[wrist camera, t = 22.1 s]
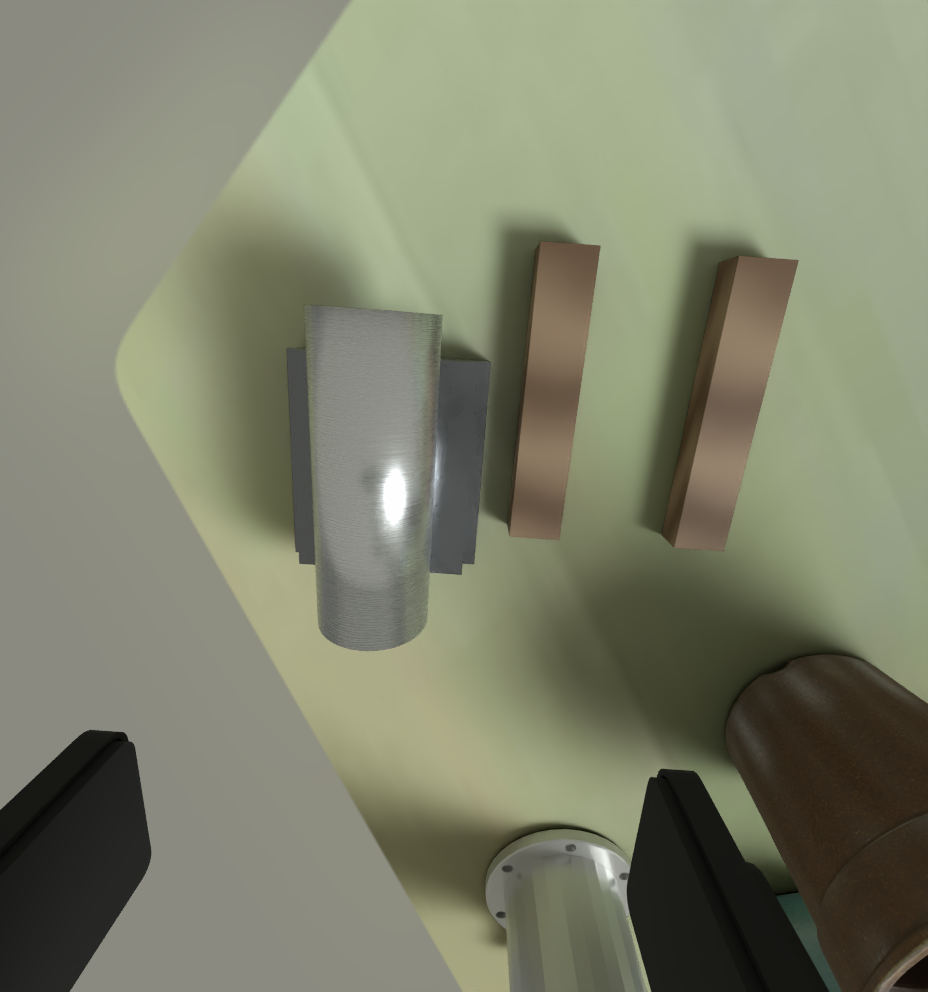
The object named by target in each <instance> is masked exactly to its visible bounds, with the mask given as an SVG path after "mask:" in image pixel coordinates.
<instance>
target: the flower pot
mask: <svg viewBox="0 0 928 992" xmlns="http://www.w3.org/2000/svg"><path fill="white" fill-rule="evenodd" d="M776 897H777V899H778V901H779V903H780V904H781V906H782V908H783V910H784V911H785V913H786V915H787V917H788V919H789V920H790V922H791V924H792V926H793V927H794V929H795V931H796V933H797V935H798V936H799V938H800V940H801V942H802V943H803V945H804V947H805V949H806V951H807V952H808V954H809V956H810V958H811V960H812V961H813V963H814V965H815V967H816V968H817V970H818V972H819V974H820V976H821V977H822V979H823V981H824V983H825V984H826V986H827V988H828V990H829V992H841V990H840V988H839V986H838V983H837V981H836V979H835V977H834V975H833V973H832V971H831V969H830V967H829V965H828V963H827V961H826V959H825V957H824V955H823V952H822V950H821V948H820V945H819V941H818V937H817V927H816V925H815V923H814V921H813V919H812V917H811V915H810V913H809V911H808V909H807V907H806V905H805V903H804V901H803V899H802V897H801V895H800V893H793V894H786V895H778V896H776Z"/></svg>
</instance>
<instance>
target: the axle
mask: <svg viewBox="0 0 928 992" xmlns="http://www.w3.org/2000/svg"><path fill="white" fill-rule="evenodd" d="M304 316H305V338H306V361H307V384H308V407H309V430H310V452H311V475H312V498H313V521H314V544H315V566H316V589H317V612H318V626H319V629H320V631H321V633H322V634H323V635H324V636H325V637H326V638H327V639H328V640H329V641H331V642H332V643H334V644H336V645H338V646H341V647H344V648H348V649H352V650H359V651H378V650H385V649H390V648H394V647H397V646H400V645H402V644H405V643H407V642H409V641H411V640H412V639H414V638H415V637H416V636H417V635H419V634H420V633H421V631H422V630H423V629H424V627H425V625H426V623H427V617H428V597H429V577H430V557H431V537H432V517H433V497H434V477H435V457H436V437H437V418H438V398H439V378H440V358H441V338H442V318H443V315H436V314H424V313H412V312H399V311H387V310H373V309H360V308H346V307H332V306H317V305H304Z"/></svg>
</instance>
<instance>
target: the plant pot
mask: <svg viewBox="0 0 928 992" xmlns="http://www.w3.org/2000/svg"><path fill="white" fill-rule="evenodd" d="M725 741H726V745H727V749H728V752H729V754H730V756H731V758H732V761H733V763H734V765H735V766H736V768H737V770H738V772H739V773H740V775H741V777H742V779H743V781H744V783H745V785H746V787H747V789H748V791H749V793H750V795H751V797H752V799H753V801H754V803H755V805H756V807H757V809H758V811H759V813H760V815H761V817H762V819H763V820H764V822H765V824H766V826H767V828H768V830H769V832H770V834H771V836H772V839H773V841H774V843H775V845H776V847H777V849H778V851H779V853H780V855H781V857H782V859H783V861H784V863H785V865H786V867H787V869H788V871H789V873H790V875H791V877H792V879H793V881H794V883H795V885H796V887H797V889H798V891H799V893H800V895H801V897H802V899H803V901H804V903H805V905H806V907H807V909H808V911H809V913H810V915H811V917H812V919H813V921H814V923H815V925H816V927H817V937H818V941H819V945H820V948H821V950H822V952H823V955H824V957H825V959H826V961H827V963H828V965H829V967H830V969H831V971H832V973H833V975H834V977H835V979H836V981H837V983H838V986H839V988H840V990H841V992H928V704H927V703H926V702H925V701H923V700H922V699H920V698H919V697H917V696H916V695H915V694H913V693H912V692H910V691H909V690H907V689H906V688H905V687H903V686H902V685H900V684H899V683H897V682H896V681H895V680H893V679H892V678H890V677H889V676H888V675H886V674H885V673H884V672H882V671H881V670H879V669H878V668H876V667H875V666H873V665H871V664H869V663H867V662H865V661H862V660H860V659H856V658H853V657H849V656H843V655H832V654H822V655H812V656H805V657H801V658H796V659H793V660H790V661H789V662H788V663H787V665H786V666H785V667H784V668H783V669H782V670H779V671H777V672H774V673H770V674H762V675H760V676H759V677H758V678H756V679H755V680H754V681H753V682H751V683H750V684H749V686H748V687H747V688H746V689H745V690H744V691H743V692H742V693H741V695H740V696H739V697H738V699H737V700H736V702H735V703H734V705H733V707H732V709H731V711H730V714H729V716H728V720H727V724H726V729H725Z"/></svg>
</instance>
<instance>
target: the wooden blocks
mask: <svg viewBox="0 0 928 992" xmlns="http://www.w3.org/2000/svg"><path fill="white" fill-rule="evenodd" d="M599 252H600V246H598V245H584V244H571V243H557V242H543V241H541V242H540V243H539V245H538V246H537V248H536V250H535V260H534V269H533V279H532V289H531V299H530V308H529V318H528V328H527V337H526V347H525V357H524V367H523V376H522V386H521V396H520V405H519V415H518V425H517V435H516V444H515V454H514V464H513V473H512V483H511V493H510V502H509V512H508V522H507V526H508V531H509V536H510V537H525V538H539V539H554V540H559V537H560V530H561V523H562V516H563V509H564V502H565V494H566V487H567V480H568V473H569V466H570V459H571V452H572V445H573V437H574V430H575V423H576V416H577V409H578V402H579V395H580V388H581V381H582V373H583V366H584V359H585V352H586V345H587V338H588V331H589V324H590V316H591V309H592V302H593V295H594V288H595V281H596V274H597V267H598V260H599ZM798 261H799V260H789V259H776V258H762V257H748V256H737V257H734V258H731V259H728V260H725V261H722V262H719V267H718V272H717V276H716V281H715V286H714V291H713V295H712V300H711V305H710V310H709V314H708V319H707V324H706V328H705V333H704V338H703V343H702V347H701V352H700V357H699V361H698V366H697V371H696V376H695V380H694V385H693V390H692V395H691V399H690V404H689V409H688V413H687V418H686V423H685V428H684V432H683V437H682V442H681V446H680V451H679V456H678V461H677V465H676V470H675V475H674V480H673V484H672V489H671V494H670V498H669V503H668V508H667V513H666V517H665V522H664V527H663V532H662V536H663V537H664V538H665V539H666V540H667V541H668V542H669V543H670V544H671V545H672V546H673V547H674V548H684V549H699V550H713V551H724V548H725V544H726V540H727V536H728V532H729V528H730V524H731V521H732V517H733V513H734V509H735V505H736V501H737V497H738V493H739V490H740V486H741V482H742V478H743V474H744V470H745V466H746V462H747V459H748V455H749V451H750V447H751V443H752V439H753V435H754V431H755V428H756V424H757V420H758V416H759V412H760V408H761V404H762V400H763V396H764V393H765V389H766V385H767V381H768V377H769V373H770V369H771V365H772V362H773V358H774V354H775V350H776V346H777V342H778V338H779V334H780V331H781V327H782V323H783V319H784V315H785V311H786V307H787V303H788V300H789V296H790V292H791V288H792V284H793V280H794V276H795V272H796V268H797V265H798Z"/></svg>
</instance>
